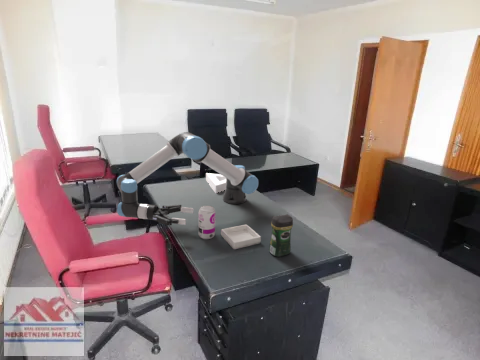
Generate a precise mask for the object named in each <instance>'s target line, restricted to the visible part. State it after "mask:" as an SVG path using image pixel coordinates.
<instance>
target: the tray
mask: <svg viewBox="0 0 480 360" xmlns="http://www.w3.org/2000/svg"><path fill="white" fill-rule="evenodd" d="M220 236H221V237H222V239H224V241H225V242H226V243H227V244H228V245H230V247H231V248H232V249H233V250H237V249H242V248H245V247H250V246H255V245H258V244H261V242H262V236H261V235H259V233H258V232H256V231H255V230H254V229H253V228H252V227H250V226H249V225H248V224H242V225H237V226H230V227H226V228H221V230H220Z"/></svg>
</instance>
